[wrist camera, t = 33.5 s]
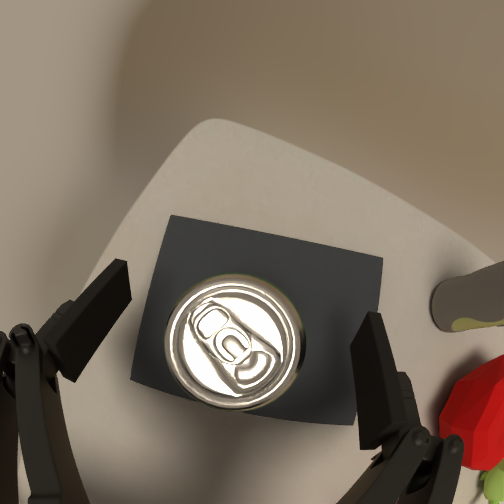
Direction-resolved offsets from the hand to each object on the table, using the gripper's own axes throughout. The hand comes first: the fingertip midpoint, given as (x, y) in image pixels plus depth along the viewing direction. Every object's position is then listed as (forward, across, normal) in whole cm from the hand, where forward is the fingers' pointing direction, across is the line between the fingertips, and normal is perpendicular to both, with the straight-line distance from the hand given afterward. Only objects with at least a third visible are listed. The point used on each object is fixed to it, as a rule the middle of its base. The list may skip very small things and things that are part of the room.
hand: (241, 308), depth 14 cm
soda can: (+3, 0, -6) cm, 7 cm away
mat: (+4, +1, -5) cm, 7 cm away
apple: (0, +23, -10) cm, 25 cm away
